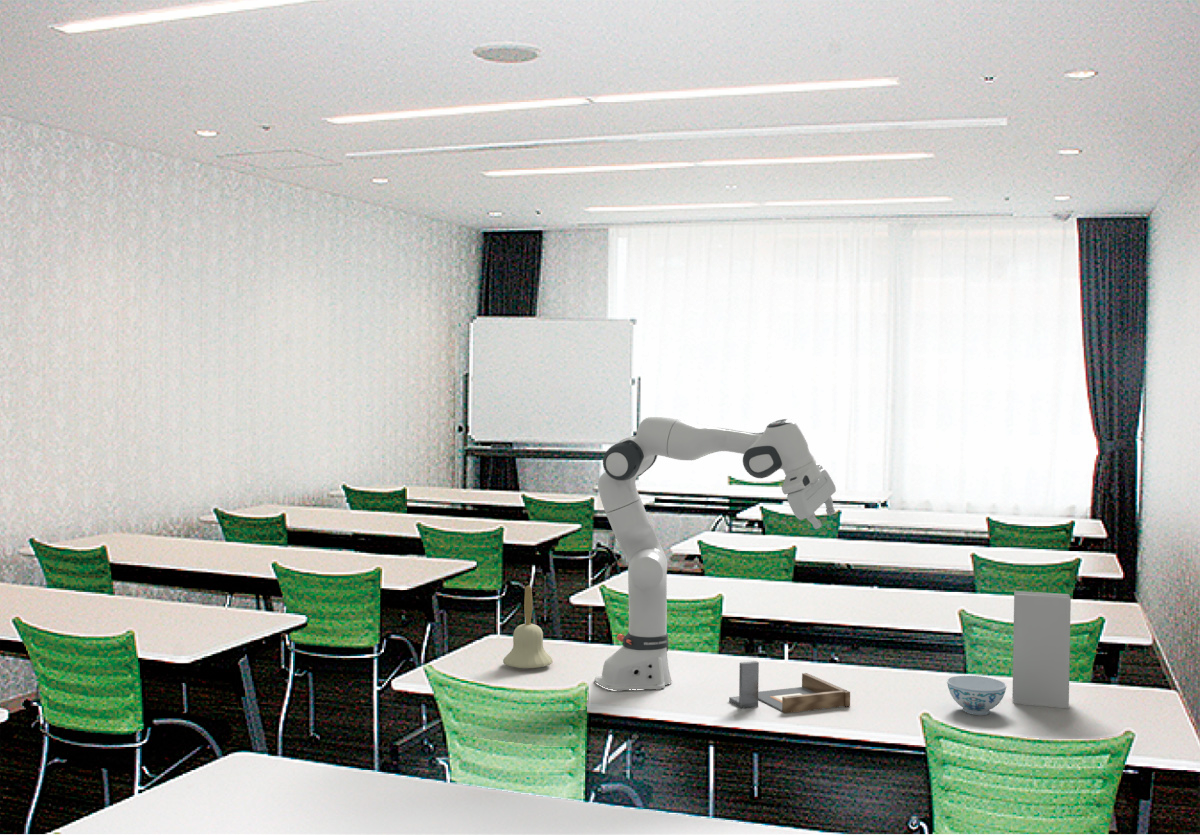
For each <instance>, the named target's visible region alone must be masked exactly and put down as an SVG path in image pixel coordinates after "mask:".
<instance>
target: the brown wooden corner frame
mask: <svg viewBox="0 0 1200 835" xmlns="http://www.w3.org/2000/svg"><path fill="white" fill-rule="evenodd" d="M801 687H804V688H807V689H809V690H811V691H813V692H815V693H813V694H803V695H794V696H785V697H782V711H781V712H782V713H783V714H791V713H799V712H808V710H810V711H815V710H814V709H818V710H823V709H822V708H827V709H832V708H831V707H835V708H840V707H839V706H846V707H845V708H848V707H847V706H850V707H851V691H849V690H846V689H845V688H842V687H840V686H837V685H836V684H833V683H830V682H829V681H826V680H824V679H822V678H819V677H817V676H814V675H812V674H809V673H808V672H805V673H803V672H802V673H801Z"/></svg>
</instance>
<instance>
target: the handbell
mask: <svg viewBox="0 0 1200 835" xmlns="http://www.w3.org/2000/svg"><path fill="white" fill-rule="evenodd" d="M532 590H533V589H532V586H531V585H526V586H525V590H524V597H523V598H524V602H523V603H524V604H523V606H524V607H523V608H524V609H523V610H524V617H525V618H524V619H525V623H523V624H520V625H517V626H516V627H515V629H514V631H513V634H512V636H513V637H512V640H513V641H512V643H513V645H512V648H511V650H510V651H509V652H508V653H507V654H506V656H504V658H503V659H502V663H503V664H504V665H506V666H508V667H511V668H516V669H517V668H518V669H536V668H537V669H538V668H543V667H547V666H550V665H551V664H553V662H554V659H553V657H552V656H551V655H550V654H549V653H548V652H547V651H546V650H545V649H544V644H543V642H544V632H543V630H542V627H540V626H539V625H537V624H534V623H532V622H531V621H532V615H533V593H532V592H533V591H532Z"/></svg>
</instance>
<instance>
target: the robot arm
mask: <svg viewBox="0 0 1200 835" xmlns="http://www.w3.org/2000/svg"><path fill="white" fill-rule="evenodd" d="M718 452H730V453H734V454H741V455H743V456H742V465H743V468H744V470H745V471H746V472H747V474H748V475H750V476H751V477H753V478H756V479H764V478H768V477H770V476H771V475H773V474H775V472H777V471H779V470H782V471H783V473H784V474H785V477H784V481H783V484H782V486H781V490H782V493H783V494H784V495H786V499H787V502H788V504H789V507H790V509H791V511H792V512H793V514H794V516H795V517H796V518H797V519H798V520H804V519H806V520H807V521H808V522H810V524H812V527H813V529H814V530H817V529H820V528H821V527H822V525H823V524H822V522H821V520H820V519H818V518H817V516H816V513H815V512H816V511H817V510H819V508H820V507H822V505H823V504H825V512H826V514H827V516H832V515H834V514H835V513H836V510H835V508H834V501H833V497H832V495H833V494H835V492H836V490H837V489H836V485H835V482H834V481H833V479H832V477H831V476H830V474H829V473H828V471H827V470H826V469H824V468H823V466H822V465H820V464H818V463H817V462H816V459H815V457H814V456H813V455H812V453H811V452H810V450H809V445H808V442H807V439H806V438H805V436H804V434H803V432H802V431H801V429H800V427H799V426H798V424H797V423H796V422H795V421H794V420H792V419H790V418H789V419H788V418H784V419H779V420H775V421H773V422H770V423H769V424H767V426H766V427H765V430H764V431H763V432H762V431H761V432H752V431H751V432H750V431H743V430H736V429H731V428H724V427H714V426H709V425H705V424H704V425H703V424H699V423H695V422H691V421H685V420H680V419H675V418H671V417H664V416H663V417H658V416H650V417H649V416H648V417H645V418H644V419H642V421H641V422H640V423H639V425H638V427H637V430H636V434H634V435H631V436H629V437H626V438H622V439H621V440H619V442H617V443H615V444H613V445H611V446H610V447H609V448H608V449H607V450H606V452H605V453H604V455H603V457H602V458H603V459H602V465H603V470H604V471H603V473H602V474H601V475H600V476H599V477H598V481H597V488H598V493H599V498H600V500H601V504H602V508H603V509H604V512H605V515H606V518H607V520H608V522H609V524H610V526H611V529H612V533H613V534H614V536H615V539H616V541H617V542H618V544H619V547H620V548H621V550H622V552H623V554H624V556H625V559H626V562H627V563H628V567H627V580H628V581H627V586H628V589H627V592H628V632H627V633H626V634H625V635H624V634H622V633H618V634H617V636H616V640H618V641H619V642H622V646H621V647H620V648H618V650H616V651H615V652H614V653H613V654H612V655H610V656H609V657H608V658H606V659H605V661H604V663H603V666H602V667H603V668H602V673H601V675H599V676H596V677H594V682H595V681H596V683H598V684H599V685H601V686H603V687H605V688H608V689H613V690H629V689H631V690H632V689H636V690H635V691H638V690H637V689H656V690H662V689H661V688H664V689H665V688H666V686H665V685H667V684H669V683H670V684H672V682H673V680H672V677H671V673H670V668H669V660H668V651H669V634H668V632H667V627H668V625H667V624H668V623H667V622H668V620H667V618H668V617H667V615H668V611H667V610H668V604H667V603H668V602H667V601H668V599H667V598H668V595H667V588H668V587H667V580H668V579H667V577H668V576H667V573H668V559H667V555H666V553H665V551H664V549H663V547H662V545H661V542H660V540H659V538H658V536H657V534H656V531H655V529H654V528H653V525H652V522H651V520H650V518H649V515H648V514H647V510H646V509H645V506H644V504H643V502H642V498H641V496H640V493H639V491H638V489H637V486H636V479H637V477H640V476H642V475H643V474H644V473H645V472H647V471H648V470H650V468H651V467H652V466H653V465H654V464H655V462H656V461H657V458H658V456H660V457H666V458H670V459H673V460H678V461H696V460H698V459H701V458H703V457H705V456H707V455H711V454H714V453H718ZM671 681H672V682H671ZM670 684H669V685H670ZM667 686H668V685H667Z"/></svg>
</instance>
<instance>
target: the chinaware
mask: <svg viewBox="0 0 1200 835" xmlns="http://www.w3.org/2000/svg"><path fill="white" fill-rule="evenodd" d="M946 683H947V688H948V691H949V693H950V695H951V697H952V699H953V700H954V701H955V703H956V704H958V705H959V706H960V707H961V708H962V711H963V712H964V711H965V712H964V713H966V712H967V714H969V713H970V714H969V715H974V716H975V715H976V716H986V715H988V714H990V711H991V710H992V709H994V708H995V707H997V706H998V705H999V704H1000V703H1001V702H1002V700H1003V698H1004V697H1005V693H1006V690H1007V683H1005V682H1003V681H1002V680H1000V679H996V678H992V677H987V676H980V675H956V676H951V677H948V678H947V680H946Z"/></svg>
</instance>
